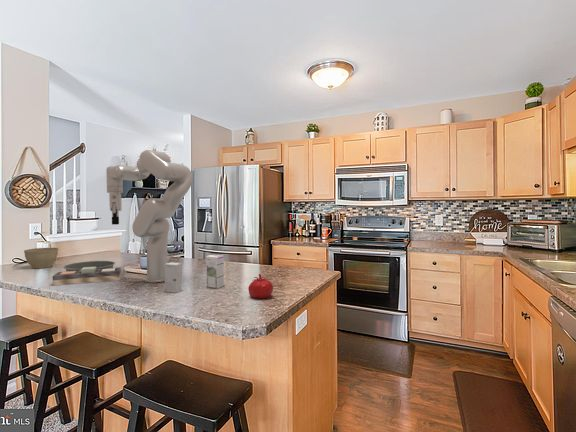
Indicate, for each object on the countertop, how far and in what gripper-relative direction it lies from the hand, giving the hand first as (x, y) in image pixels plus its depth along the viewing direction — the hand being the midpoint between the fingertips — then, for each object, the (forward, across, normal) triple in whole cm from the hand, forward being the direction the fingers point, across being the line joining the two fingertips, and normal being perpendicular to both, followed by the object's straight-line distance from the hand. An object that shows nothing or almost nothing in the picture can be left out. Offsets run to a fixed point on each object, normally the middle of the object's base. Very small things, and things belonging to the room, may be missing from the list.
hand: (115, 224), depth 167 cm
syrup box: (+27, -47, -44) cm, 70 cm away
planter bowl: (+27, +41, +43) cm, 65 cm away
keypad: (+27, -10, +11) cm, 31 cm away
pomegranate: (+27, -70, -58) cm, 95 cm away
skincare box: (+27, -47, -26) cm, 60 cm away
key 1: (+24, -10, +20) cm, 33 cm away
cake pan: (+28, +14, +14) cm, 34 cm away
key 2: (+24, -10, +2) cm, 26 cm away
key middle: (+23, -10, +11) cm, 27 cm away
